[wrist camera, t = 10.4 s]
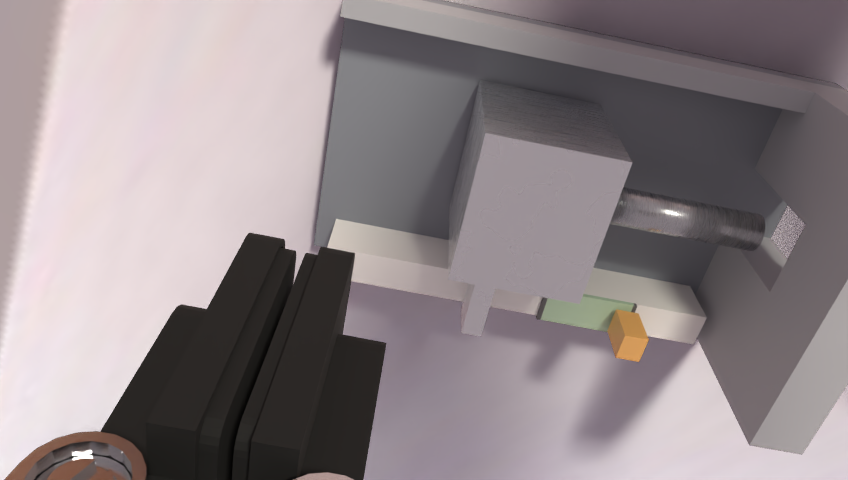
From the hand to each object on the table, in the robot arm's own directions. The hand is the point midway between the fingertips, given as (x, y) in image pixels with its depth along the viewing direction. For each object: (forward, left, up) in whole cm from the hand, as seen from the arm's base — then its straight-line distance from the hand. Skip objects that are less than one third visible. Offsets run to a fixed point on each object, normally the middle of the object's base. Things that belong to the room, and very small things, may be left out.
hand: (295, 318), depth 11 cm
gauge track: (+7, +10, -25) cm, 28 cm away
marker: (+13, +14, -21) cm, 28 cm away
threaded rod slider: (+8, +11, -24) cm, 28 cm away
